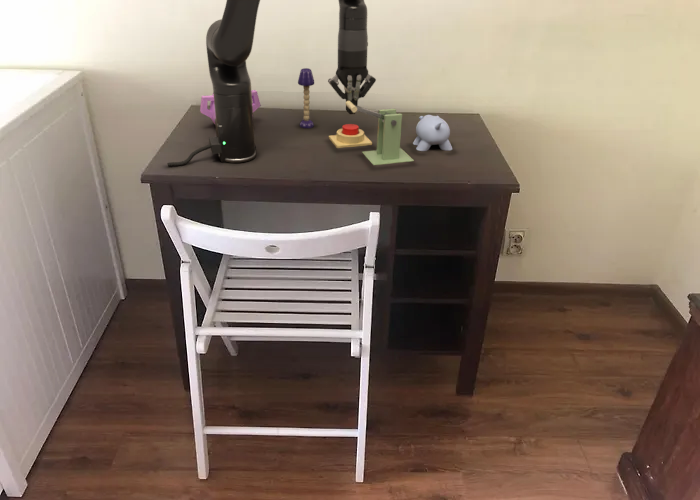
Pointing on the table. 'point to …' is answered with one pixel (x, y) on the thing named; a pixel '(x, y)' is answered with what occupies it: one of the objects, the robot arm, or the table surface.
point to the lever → (365, 110)
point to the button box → (349, 139)
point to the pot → (211, 112)
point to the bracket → (388, 141)
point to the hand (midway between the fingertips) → (351, 113)
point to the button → (350, 129)
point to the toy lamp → (306, 95)
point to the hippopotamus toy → (432, 133)
